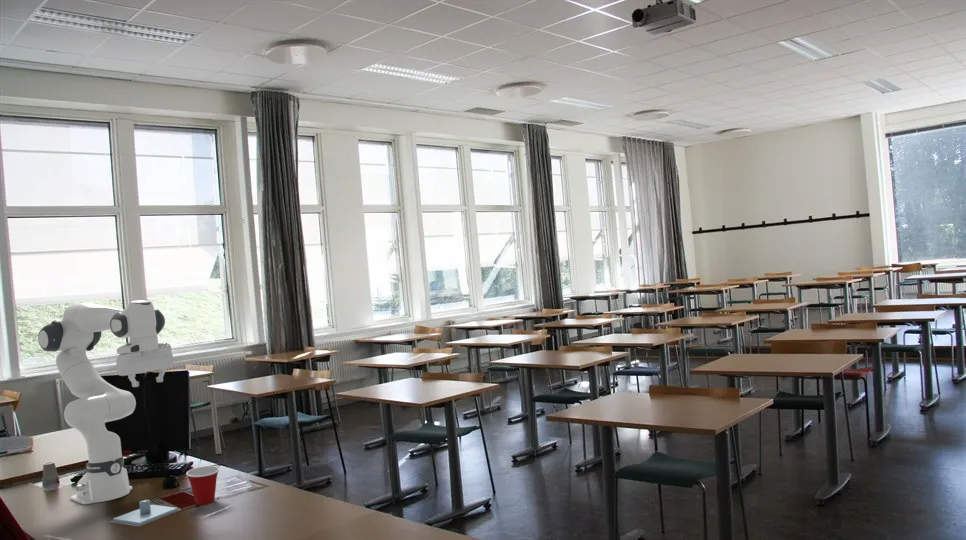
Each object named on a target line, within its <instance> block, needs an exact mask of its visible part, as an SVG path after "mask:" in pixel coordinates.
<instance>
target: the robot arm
mask: <svg viewBox="0 0 966 540" xmlns="http://www.w3.org/2000/svg"><path fill="white" fill-rule="evenodd" d="M165 325H166V319H165V315H164V314H163V313H162V312H161V311H160V310H159V309H157V308H156V307H154V304H153V302H152V301H149V300H145V299H143V300H142V299H141V300H137V299H136V300H132V301H129V302H128V304H127V306H126V308H124V309H121V308H115V307H111V306H107V305H106V306H105V305H102V304H96V303H92V302H79V303H73V304H71V305H69V306H68V307H66V309H65V310H64V312H63V318H62V319H61V320H59V321H56V320H53V321H52V322H51V323H48V324H47V325H45V326H43V327H42V328H41V329H40V330H39V332H38V335H37V337H38V338H37V339H38V340H37V341H38V344H39V346H40V347H41V349H42V350H43V351H45V352H53V353H54V352H58V351H59V353H58V354H57V355H56V358H55V364H56V367H57V370H58V372H59V375H60V376H61V378H62V380H63V382H64V383H65V385H66V387H67V388H68V389H69V392H70V393H71V394H72V395H74V396H75V397H76V398H78V399H75V400H72V401H70V402H69V403H67V405H66V406H65V408H64V411H63V418H64V420H65V422H66V423H67V425H68V426H69V427H71V428H72V429H75V430H76V431H78V432H79V434H80V435H81V436H82V437H83V438H84V441H85V444H86V450H87V458H88V462H87V463H85V467H86V473H84V474H83V476H82V477H81V478H80V479H79V480H78V481H77V483H76V487H75V488H76V489H75V490H76V494H73V495H71V496H70V501H73V502H76V503H78V504H82V505H90V504H95V503H101V502H103V503H104V502H107V501H108V502H109V501H112V500H115V499H118V498H122V497H124V496H126V495H129V494H130V492H131V491H132V490H133V486H132V485H130V481H129V476H128V471H127V470H128V469H126V468H125V467H124V466H125V464H124V463H125V460H124V456H123V455H122V444H121V443H122V442H121V437H120V436H119V435H118V434H117V433H115V432H113V431H109V430H108V429H107V427H106V423H108V422H113V421H118V420H121V419H124V418H126V417H128V416H130V415H132V414H133V413H134V411H135V410H136V407H137V406H136V405H137V402H136V397H135V396H134V394H133V393H132V392H130V391H128V390H124V389H120V388H118V387H116V386H114V385H112V384H111V383H109V382H108V381H106V380H105V379H104V378H103V377H102V376H101V375H100V374H99V372H98V371H97V370H96V368H95V366H94V365H93V363H92V362H91V361H90V359H89V358H88V356H87V352H91V351H92V350H93V349H94V348H95V346H96V345H97V344H98V343H99V342H100V340H101V337H102V332H106V331H109V330H110V331H111V333H112V334H113V335H114V336H115V337H117V338H118V339H119V338H122V339H126V338H129V342H127V343H125V344H123V345H121V346H119V347H117V348H116V353H117V354H118V355H117V356H116V366H115V367H116V373H117V375H118V376H121V377H125V376H128V377H127V378H128V379H129V381H130V383H131V387H133V388H138V387H140V381H137V380H136V374H142V373H147V372H152V371H153V372H154V371H157V372H158V376H156V377H155V380H156V383H163V382H164V376H165V373H166V369H170V368H173V367H174V365H175V361H174V360H175V358H174V355H173V352H172V346H171V344H169V343H168V342H162V343H159V340H158V339H159V338H158V335H159V334H160V333H161V332H162V330H163V328H164V327H165Z"/></svg>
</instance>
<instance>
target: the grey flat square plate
mask: <svg viewBox="0 0 966 540" xmlns="http://www.w3.org/2000/svg"><path fill="white" fill-rule="evenodd" d="M177 509H178V510H177V511H174V512H172V513H169V514H167V515H164V516H161V517H159V518H156V519H154V520H151V521H149V522H146V523H143V524H141V525H136V524H130V523H123V522H117V521H113V519H112V520H110V521H108V523H114V524H119V525H127V526H132V527H137V528H138V527H141V526H144V525H146V524H149V523H152V522H155V521H156V520H159V519H161V518H164V517H167V516H170V515H172V514H175V513H176V512H179V511H182V509H181V508H177Z"/></svg>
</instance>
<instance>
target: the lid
mask: <svg viewBox="0 0 966 540" xmlns="http://www.w3.org/2000/svg"><path fill="white" fill-rule="evenodd" d="M138 503H139V508H138V509H135V510H131V511H130V512H127V513H124V514H121V515H119V516H117V517H113V518H112V520H113V521H117V522H123V523H130V524H136V525H141V524H143V523H146V522H149V521H151V520H154V519H156V518H159V517H161V516H164V515H167V514H169V513H172V512H174V511H177V510H178V509H179V508H178V507H174V506H173V507H172V506H166V505H158V504H151V500H150V499H144V500H140V501H139V502H138ZM177 512H178V511H177ZM172 514H173V513H172ZM167 516H168V515H167ZM164 517H165V516H164ZM159 519H160V518H159ZM154 521H155V520H154ZM149 523H150V522H149ZM146 524H147V523H146ZM141 526H142V525H141Z"/></svg>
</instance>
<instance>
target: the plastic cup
mask: <svg viewBox="0 0 966 540" xmlns="http://www.w3.org/2000/svg"><path fill="white" fill-rule="evenodd" d="M219 471H220V467H219V466H215V465H206V466H198V467H195V468H192V469H189V470H187V471H186V476H187V477H188V480H189V483H190V488H191V492H192V494H193V498H194V501H195V504H196V505H197V506H203V505H204V506H206V505H209V504H211V503H214V502H215V499H216V487H217V478H218V473H219Z"/></svg>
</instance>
